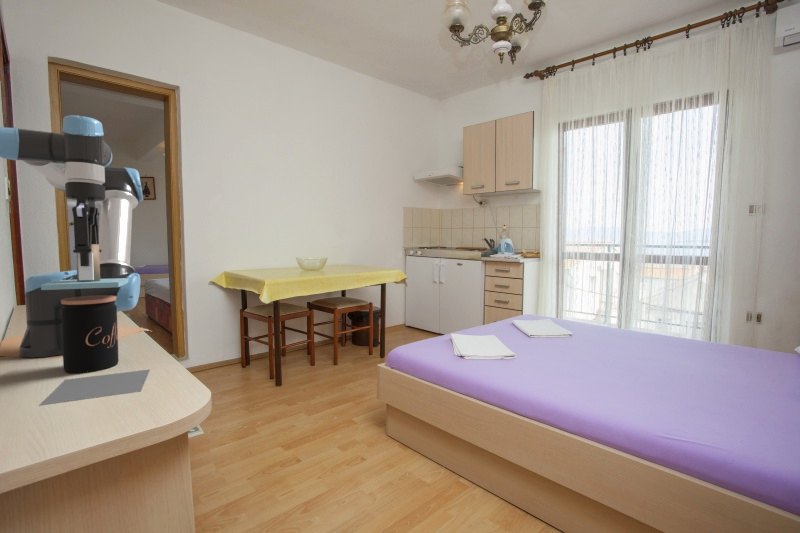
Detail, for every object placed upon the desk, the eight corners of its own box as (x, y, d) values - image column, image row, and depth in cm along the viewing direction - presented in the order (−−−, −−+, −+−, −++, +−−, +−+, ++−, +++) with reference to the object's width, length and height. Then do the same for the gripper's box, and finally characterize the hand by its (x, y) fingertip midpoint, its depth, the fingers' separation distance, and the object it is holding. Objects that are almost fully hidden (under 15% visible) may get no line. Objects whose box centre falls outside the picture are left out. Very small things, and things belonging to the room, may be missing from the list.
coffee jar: (88, 378, 89) (85, 301, 89) (51, 375, 92) (48, 300, 91) (129, 365, 100) (127, 295, 99) (95, 362, 102) (93, 294, 101)
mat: (65, 383, 86) (65, 379, 86) (150, 372, 94) (150, 369, 94) (38, 409, 72) (38, 405, 72) (141, 395, 79) (140, 391, 79)
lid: (61, 284, 98) (59, 244, 97) (128, 282, 104) (127, 244, 104) (41, 290, 85) (39, 243, 85) (118, 287, 92) (117, 244, 91)
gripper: (75, 186, 99) (79, 277, 100) (53, 176, 84) (57, 282, 85) (111, 188, 103) (114, 276, 104) (96, 178, 88) (99, 281, 89)
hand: (88, 279), depth 95 cm, fingers closed on lid, 4 cm apart
